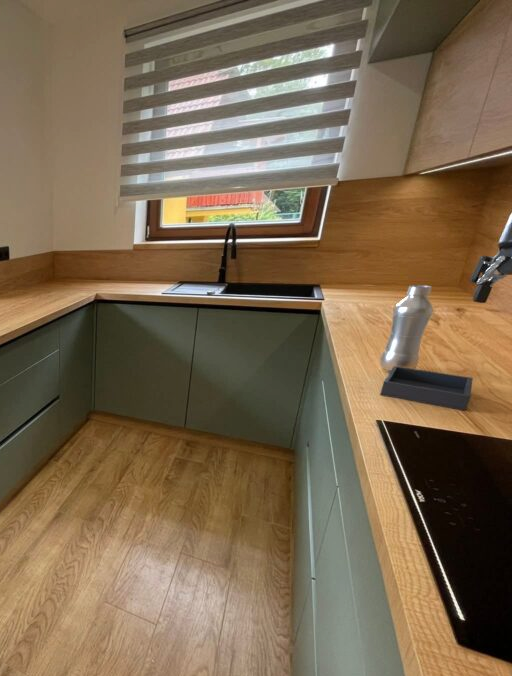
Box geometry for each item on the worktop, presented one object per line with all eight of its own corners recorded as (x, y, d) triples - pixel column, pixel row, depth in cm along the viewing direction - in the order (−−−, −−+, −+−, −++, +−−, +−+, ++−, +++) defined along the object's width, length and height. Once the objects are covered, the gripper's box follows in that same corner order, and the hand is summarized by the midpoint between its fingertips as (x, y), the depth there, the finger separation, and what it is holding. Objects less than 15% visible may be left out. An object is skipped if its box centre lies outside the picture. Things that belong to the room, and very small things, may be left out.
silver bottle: (417, 377, 98) (445, 289, 91) (378, 372, 101) (402, 287, 94) (412, 369, 103) (438, 285, 96) (375, 365, 106) (398, 283, 99)
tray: (465, 410, 81) (470, 396, 80) (380, 394, 89) (383, 381, 88) (467, 391, 89) (472, 377, 88) (389, 378, 98) (393, 365, 97)
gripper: (595, 221, 81) (557, 305, 84) (513, 234, 95) (482, 306, 98) (556, 212, 82) (518, 296, 85) (479, 227, 96) (449, 299, 99)
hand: (499, 301), depth 91 cm, fingers open, 8 cm apart
